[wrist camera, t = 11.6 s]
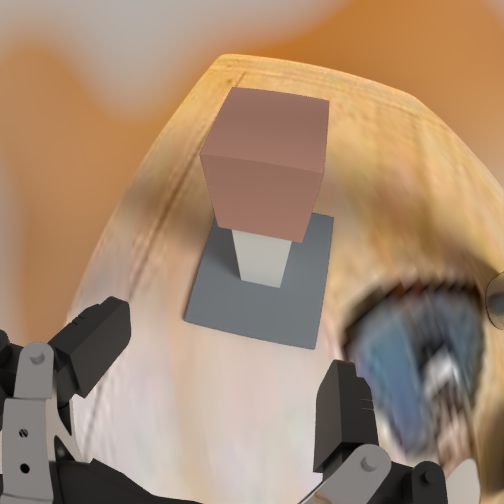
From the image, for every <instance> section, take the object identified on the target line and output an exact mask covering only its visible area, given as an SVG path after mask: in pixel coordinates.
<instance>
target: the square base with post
mask: <svg viewBox="0 0 504 504" xmlns="http://www.w3.org/2000/svg"><path fill="white" fill-rule="evenodd" d="M333 220H334V217H330V216H325V215H320V214H316V213H312V214H311V217H310V220H309V223H308V226H307V229H306V232H305V235H304V238H303V241H302V243H299V242H294V241H289V240H284V239H279V238H274V237H268V236H263V235H258V234H253V233H248V232H242V231H237V230H232V229H227V228H221V227H218V223H217V219H216V216H215V219H214V222H213V225H212V228H211V231H210V235H209V238H208V241H207V244H206V247H205V251H204V254H203V257H202V260H201V264H200V267H199V270H198V274H197V277H196V281H195V284H194V287H193V291H192V294H191V298H190V301H189V305H188V308H187V312H186V316H185V319H184V321H186V322H189V323H193V324H196V325H200V326H204V327H208V328H212V329H216V330H220V331H224V332H228V333H233V334H237V335H241V336H246V337H250V338H255V339H260V340H265V341H269V342H274V343H279V344H285V345H290V346H295V347H301V348H307V349H313V350H314V349H315V346H316V340H317V335H318V329H319V324H320V318H321V312H322V306H323V299H324V293H325V286H326V279H327V272H328V264H329V256H330V248H331V239H332V230H333Z"/></svg>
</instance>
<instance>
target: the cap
mask: <svg viewBox="0 0 504 504" xmlns="http://www.w3.org/2000/svg"><path fill="white" fill-rule="evenodd" d="M328 117H329V101H328V100H323V99H318V98H313V97H307V96H302V95H296V94H289V93H283V92H275V91H268V90H259V89H249V88H238V87H232V88H231V90H230V92H229V94H228V96H227V98H226V100H225V102H224V103H223V105H222V107H221V109H220V111H219V113H218V115H217V118H216V120H215V122H214V124H213V126H212V128H211V130H210V132H209V134H208V136H207V138H206V141H205V143H204V145H203V147H202V149H201V151H200V158H201V162H202V166H203V170H204V174H205V178H206V182H207V185H208V189H209V193H210V197H211V201H212V204H213V208H214V212H215V216H216V219H217V223H218V227H221V228H227V229H232V230H237V231H242V232H248V233H253V234H258V235H263V236H268V237H274V238H279V239H284V240H289V241H294V242H299V243H302V241H303V238H304V235H305V232H306V229H307V226H308V223H309V220H310V217H311V214H312V210H313V207H314V204H315V201H316V198H317V194H318V191H319V188H320V185H321V181H322V178H323V175H324V166H325V155H326V144H327V131H328Z"/></svg>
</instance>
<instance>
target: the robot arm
mask: <svg viewBox="0 0 504 504" xmlns="http://www.w3.org/2000/svg"><path fill="white" fill-rule="evenodd" d="M486 305H487V310H488V314H489V317H490V319H491V321H492V323H493V324H494V325H495V326H496V327H497V328H499V329H504V272H502V273H500V274H499V276H498V277H496V278H494V279H493V280H491V282H490V283H489V285H488V288H487V293H486ZM130 338H131V322H130V307H129V304H128V302H126V301H123V300H121V299H118V298H115V297H113V296H110V297H108V298H107V299H106V300H105V301H104V302H103V303H101V304H100V305H99V304H96V305H93V306H91V307H88V308H86V309H85V310H84V311H83V312H82V313H80V314H79V315H78V317H76V318H75V319H73V320H72V322H71V323H69V324H68V325H67V326H66V327H64V328H63V329H62V330H61V331H60V332H59V333H58V334H57V335H55V336H54V337H53V338H52V339H51V340H50V341H49V342H48V343H44V342H33V343H30V344H28V345H26V346H25V347H22V346H18V345H15V344H12V343H10V341H9V339H8V336H7V334H6V333H5V332H4V331H2V330H0V431H1V430H2V470H3V474H0V504H202V503H199V502H195V501H189V500H180V499H172V498H165V497H159V496H155V495H152V494H150V493H149V492H147V491H146V490H145V489H143V488H142V487H140V486H139V485H138V484H136V483H135V482H133V481H132V480H131V479H129V478H128V477H127V476H126V475H124V474H123V473H121V472H119V471H117V470H115V469H113V468H111V467H109V466H107V465H105V464H103V463H101V462H100V461H98V460H96V459H94V458H93V460H92V461H91V463H85V462H83V461H82V457H81V453H80V451H79V448H78V445H77V442H76V435H75V427H74V416H73V402H72V397H73V395H74V394H75V393H76V394H78V395H79V396H81V397H83V398H84V399H85V398H86V396H87V395H88V394H89V393H90V391H91V390H92V389H93V387H94V386H95V385H96V384H97V382H98V381H99V380H100V379H101V377H102V376H103V375H104V374H105V372H106V371H107V370H108V369H109V367H110V366H111V365H112V364H113V362H114V361H115V360H116V359H117V357H118V356H119V355H120V354H121V353H122V351H123V350H124V349H125V348H126V346H127V345H128V343H129V341H130ZM373 409H374V407H373V402H372V395H371V389H370V387H369V386H368V384H367V382H366V381H365V379H364V378H361V377H357V375H356V368H355V364H354V363H353V362H347V361H341V360H336V359H335V360H333V362H332V363H331V365H330V367H329V369H328V371H327V373H326V375H325V377H324V379H323V381H322V383H321V385H320V387H319V390H318V393H317V398H316V426H315V448H314V465H313V472H316V473H323V479H322V481H321V482H320V483H319V484H318V485H317V486H316V487H315V488H314V489H313V490H312V491H311V492H310V493H309V494H308V495H306V496H305V497H304V498H303V499H302V500H301V501H300V502H299V503H297V504H448V500H447V490H446V483H445V476H444V472H443V470H442V469H441V467H440V466H439V465H438V464H436V463H434V462H431V461H423V462H421V463H419V464H418V465H416V466H415V467H414V468H413V467H409V466H406V465H402V464H399V463H395V462H393V461H391V459H390V457H389V455H388V453H387V452H386V451H385V450H384V449H383V448H381V447H380V446H379V441H378V434H377V427H376V420H375V413H374V411H373Z"/></svg>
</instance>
